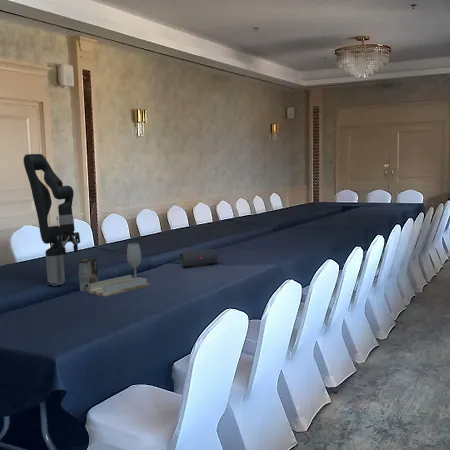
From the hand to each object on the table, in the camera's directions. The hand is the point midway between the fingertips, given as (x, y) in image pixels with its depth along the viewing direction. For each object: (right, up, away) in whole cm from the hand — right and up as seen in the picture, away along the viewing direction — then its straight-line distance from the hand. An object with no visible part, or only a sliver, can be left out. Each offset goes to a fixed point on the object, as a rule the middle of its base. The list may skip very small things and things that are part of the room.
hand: (69, 253), depth 299 cm
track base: (+27, -19, -3) cm, 33 cm away
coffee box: (+11, -20, -1) cm, 22 cm away
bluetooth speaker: (+67, -11, +51) cm, 85 cm away
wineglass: (+33, -17, +17) cm, 40 cm away
